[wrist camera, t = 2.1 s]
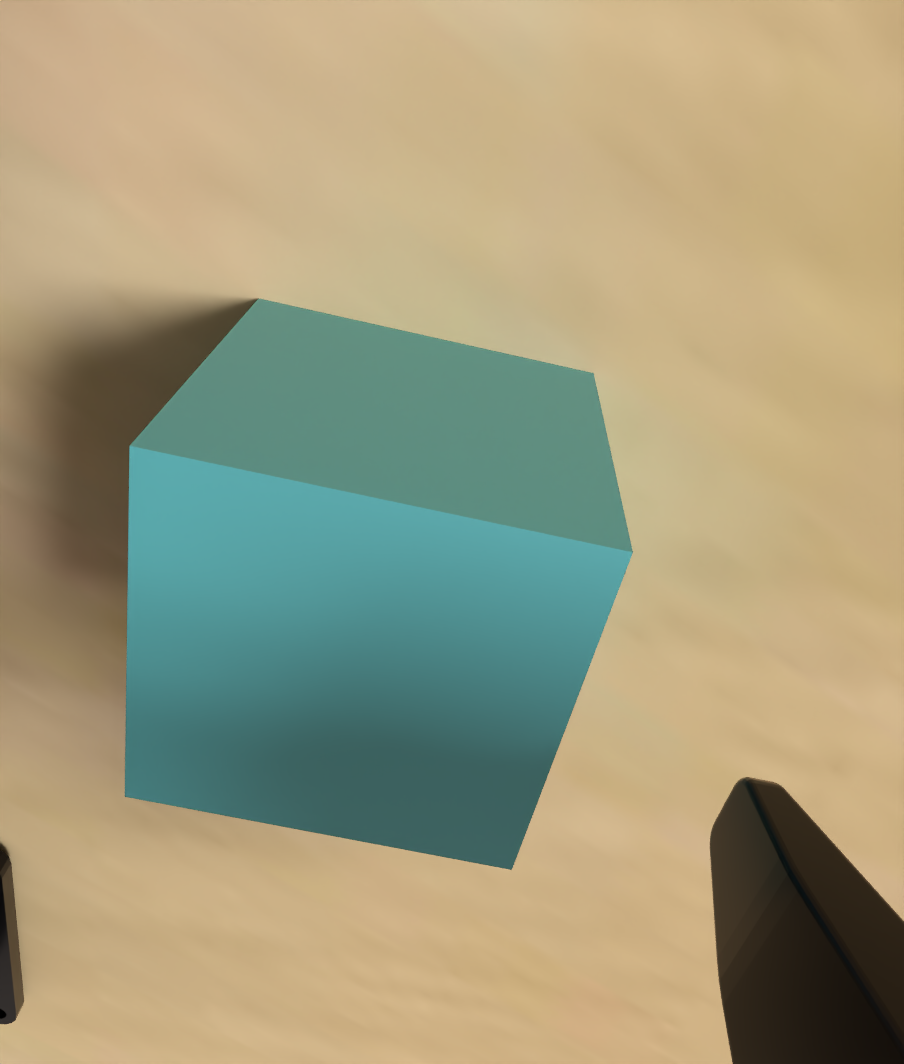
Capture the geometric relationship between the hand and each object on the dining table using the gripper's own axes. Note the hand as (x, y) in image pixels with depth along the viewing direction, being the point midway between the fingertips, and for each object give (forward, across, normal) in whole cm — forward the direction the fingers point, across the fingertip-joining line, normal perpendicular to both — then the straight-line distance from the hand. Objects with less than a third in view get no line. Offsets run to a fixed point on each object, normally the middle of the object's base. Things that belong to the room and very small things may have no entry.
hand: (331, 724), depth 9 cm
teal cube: (+6, 0, 0) cm, 6 cm away
